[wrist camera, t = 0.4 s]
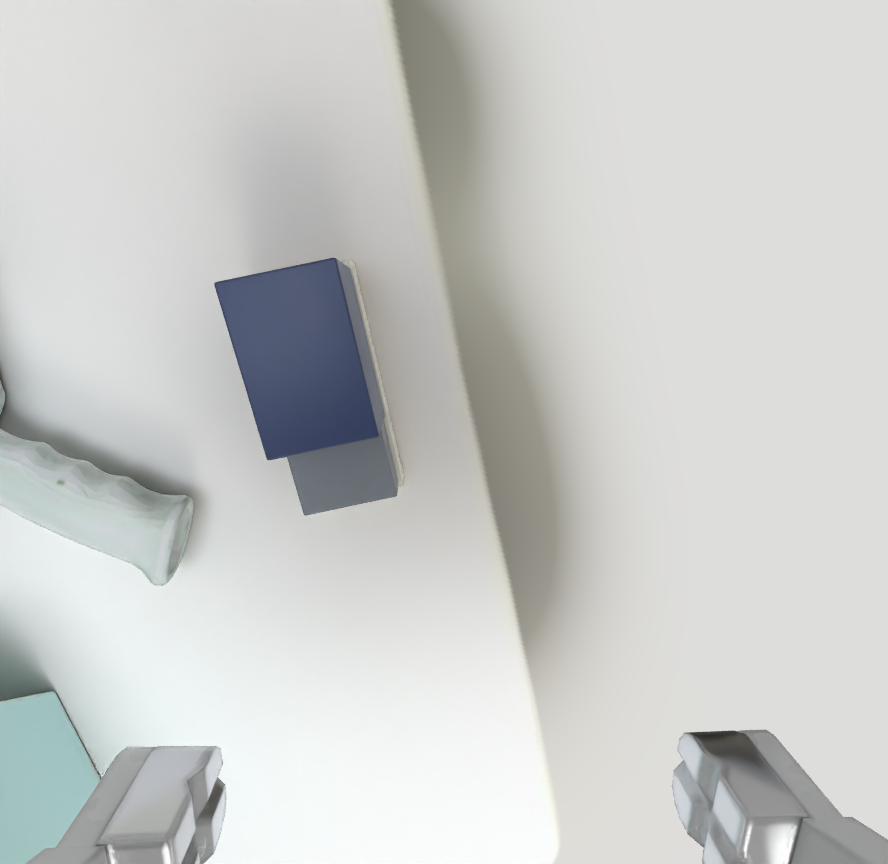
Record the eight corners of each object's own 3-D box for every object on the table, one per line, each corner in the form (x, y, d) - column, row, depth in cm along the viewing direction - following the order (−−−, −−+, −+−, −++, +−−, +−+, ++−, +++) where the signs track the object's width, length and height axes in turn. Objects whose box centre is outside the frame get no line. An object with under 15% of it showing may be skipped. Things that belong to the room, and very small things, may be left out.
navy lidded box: (254, 282, 22) (207, 273, 17) (354, 261, 22) (336, 246, 17) (314, 496, 24) (289, 542, 19) (404, 477, 24) (401, 518, 19)
